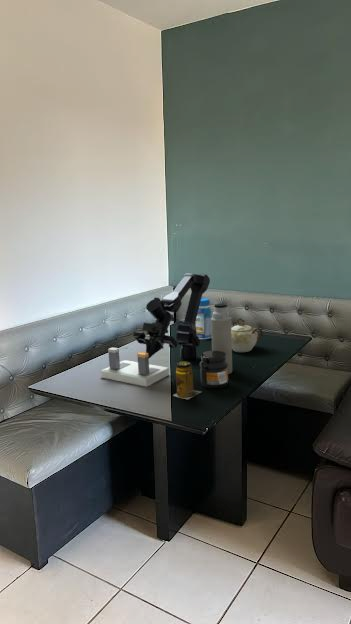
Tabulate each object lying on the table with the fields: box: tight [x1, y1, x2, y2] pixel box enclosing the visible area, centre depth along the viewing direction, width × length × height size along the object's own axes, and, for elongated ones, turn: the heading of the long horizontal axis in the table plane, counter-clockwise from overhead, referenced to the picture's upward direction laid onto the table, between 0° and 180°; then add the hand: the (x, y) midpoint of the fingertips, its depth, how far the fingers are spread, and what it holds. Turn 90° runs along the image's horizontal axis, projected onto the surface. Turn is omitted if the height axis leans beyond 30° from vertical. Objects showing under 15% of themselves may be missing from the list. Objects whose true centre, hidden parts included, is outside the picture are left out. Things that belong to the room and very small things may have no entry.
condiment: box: [172, 361, 202, 400], centre depth 179 cm, size 7×8×12 cm
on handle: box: [107, 347, 121, 369], centre depth 201 cm, size 2×4×8 cm, turn 56°
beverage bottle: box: [195, 297, 213, 340], centre depth 251 cm, size 8×8×20 cm
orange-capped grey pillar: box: [136, 351, 150, 375], centre depth 193 cm, size 2×4×8 cm, turn 56°
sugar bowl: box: [231, 318, 263, 353], centre depth 228 cm, size 20×15×15 cm
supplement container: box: [199, 350, 229, 390], centre depth 187 cm, size 10×10×12 cm
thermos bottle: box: [211, 303, 233, 375], centre depth 199 cm, size 8×8×28 cm
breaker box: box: [100, 359, 170, 387], centre depth 201 cm, size 15×23×3 cm, turn 56°
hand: (146, 358), depth 194 cm, fingers closed
